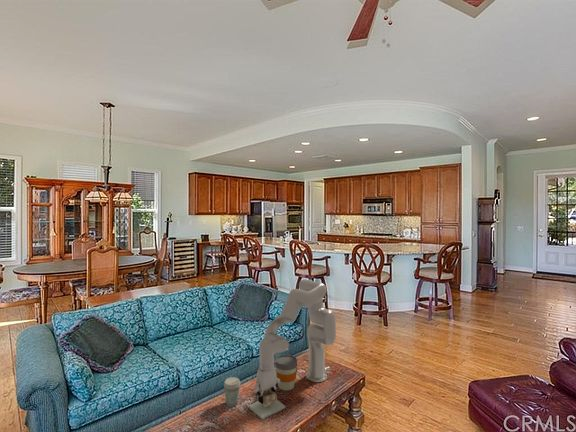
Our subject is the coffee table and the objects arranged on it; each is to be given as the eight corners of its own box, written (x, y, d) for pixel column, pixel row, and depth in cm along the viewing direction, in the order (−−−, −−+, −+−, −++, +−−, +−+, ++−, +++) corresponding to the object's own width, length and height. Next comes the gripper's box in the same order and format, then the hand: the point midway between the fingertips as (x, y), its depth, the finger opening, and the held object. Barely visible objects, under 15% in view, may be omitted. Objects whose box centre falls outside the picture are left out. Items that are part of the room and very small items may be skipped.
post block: (271, 396, 172) (271, 385, 172) (285, 407, 163) (285, 396, 163) (248, 407, 163) (248, 395, 163) (262, 419, 154) (262, 407, 154)
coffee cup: (224, 410, 161) (224, 386, 161) (223, 400, 169) (223, 377, 169) (241, 407, 163) (241, 384, 163) (239, 397, 172) (239, 375, 171)
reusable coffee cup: (298, 380, 188) (298, 355, 188) (296, 392, 176) (296, 365, 175) (276, 379, 190) (276, 354, 189) (273, 391, 177) (273, 364, 177)
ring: (268, 395, 168) (268, 387, 168) (276, 401, 163) (276, 393, 162) (257, 400, 164) (257, 392, 163) (265, 407, 158) (265, 399, 158)
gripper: (276, 357, 171) (276, 390, 171) (248, 367, 160) (248, 402, 160) (285, 362, 165) (285, 396, 166) (256, 374, 154) (256, 410, 155)
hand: (267, 399), depth 163 cm, fingers closed on ring, 6 cm apart
